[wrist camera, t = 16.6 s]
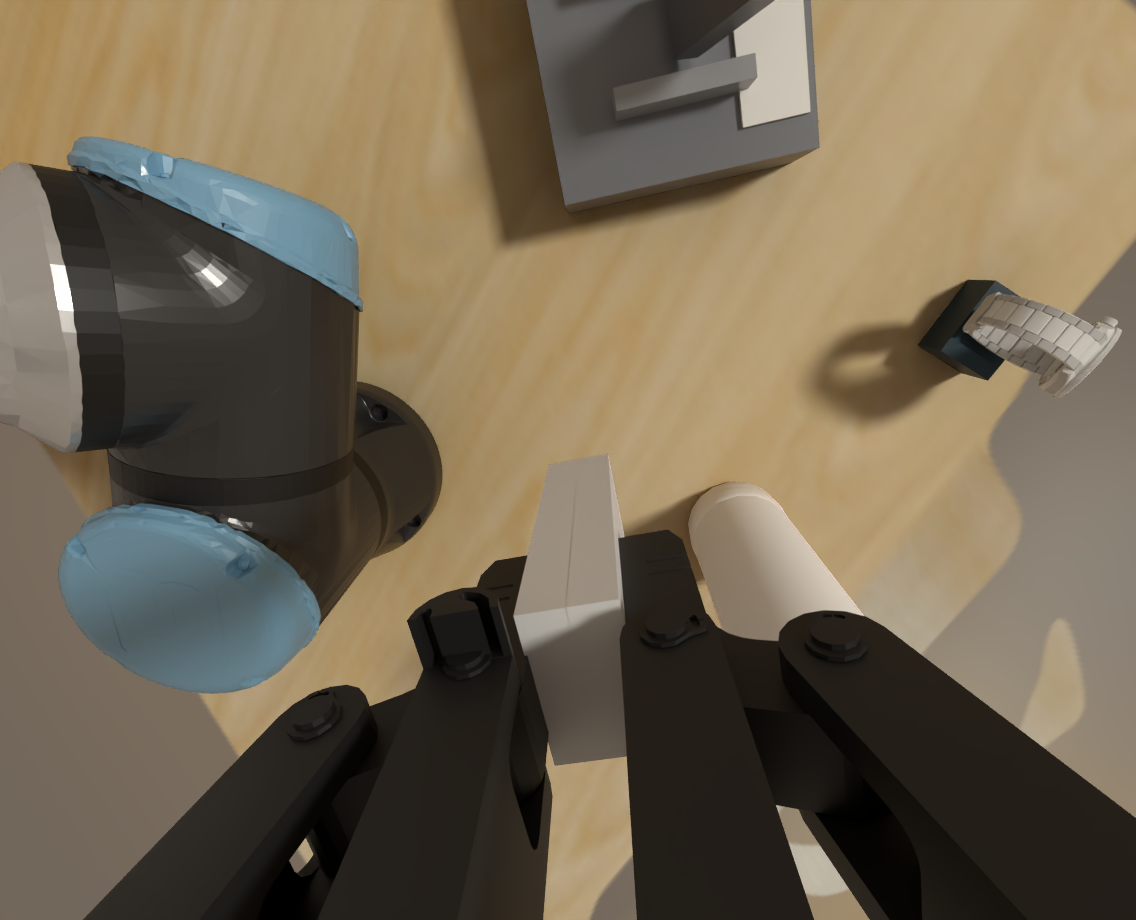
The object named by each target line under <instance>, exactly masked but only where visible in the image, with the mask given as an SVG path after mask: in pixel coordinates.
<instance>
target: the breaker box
mask: <svg viewBox="0 0 1136 920" xmlns="http://www.w3.org/2000/svg"><path fill="white" fill-rule="evenodd" d="M526 1H527V7H528V12H529V17H530V23H531V28H532V33H533V39H534V44H535V49H536V54H537V60H538V65H539V70H540V76H541V81H542V86H543V92H544V97H545V102H546V107H547V113H548V118H549V123H550V129H551V134H552V139H553V145H554V150H555V155H556V161H557V166H558V171H559V176H560V182H561V187H562V192H563V198H564V203H565V206H566V209H567V211H568V213H573V212H577V211H582V210H586V209H590V208H595V207H599V206H604V205H608V204H613V203H617V202H621V201H626V200H630V199H635V198H639V197H644V196H648V195H652V194H657V193H661V192H666V191H670V190H675V189H679V188H683V187H688V186H692V185H697V184H701V183H706V182H710V181H715V180H719V179H723V178H728V177H732V176H737V175H741V174H746V173H750V172H754V171H759V170H763V169H768V168H772V167H777V166H781V165H785V164H790V163H792V162H794V161H795V160H797V159H799V158H801V157H803V156H805V155H806V154H808V153H810V152H812V151H814V150H816V149H817V148H819V131H818V115H817V98H816V82H815V65H814V49H813V33H812V16H811V0H775V1H773V2H772V3H771V4H769V5H768V6H767V7H765V8H764V9H763V10H761V11H760V12H759V13H757V14H756V15H755V16H753V17H752V18H750V19H749V20H748V21H746V22H745V23H744V24H742V25H741V26H740V27H738V28H737V29H736V30H734V31H733V32H732V33H730V34H729V35H728V36H726V37H725V38H724V39H722V40H721V41H720V42H718V43H717V44H716V45H714V46H713V47H712V48H710V49H709V50H708V51H706V52H705V53H704V54H702V55H701V56H700V57H698V58H692V59H682V60H674V57H673V49H672V41H671V33H670V25H669V17H668V9H667V1H666V0H526Z"/></svg>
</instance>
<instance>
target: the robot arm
mask: <svg viewBox="0 0 1136 920" xmlns="http://www.w3.org/2000/svg"><path fill="white" fill-rule="evenodd" d="M67 161H68V165H70V166H71V169H72V170H74V171H67V170H61V169H56V168H50V167H44V166H38V165H33V164H27V163H21V162H13V163H11V164H10V165H8V166H7V167H5V168H4V169H2V170H1V171H0V423H4V424H7V425H11V426H15V427H17V428H19V429H20V430H22V431H24V432H26V433H28V434H29V435H31V436H33V437H35V438H36V439H38V440H40V441H42V442H44V443H45V444H47V445H49V446H51V447H52V448H54V449H56V450H58V451H60V452H82V451H92V450H101V449H107V454H108V463H109V472H110V483H111V491H112V507H110V508H107V509H105V510H103V511H100V512H98V513H96V514H94V515H92V516H91V517H90V518H88V519H87V520H86V521H85V522H84V523H83V525H82V527H81V529H80V531H79V533H77V534H76V535H75V536H74V537H72V538H71V539H70V540H69V541H68V542H67V544H66V545H65V548H64V550H63V552H62V554H61V557H60V562H59V569H58V579H59V587H60V591H61V594H62V597H63V600H64V602H65V605H66V607H67V609H68V611H69V613H70V615H71V617H72V618H73V620H74V621H75V623H76V624H77V626H78V627H79V628H80V629H81V631H82V632H83V633H84V635H85V636H86V637H87V638H88V639H89V640H90V641H91V642H92V643H93V644H94V645H95V646H96V647H97V648H99V649H100V651H102V652H103V653H104V654H105V655H108V656H110V657H111V658H113V659H114V660H116V661H117V662H118V663H120V664H121V665H122V666H123V667H124V668H126V669H127V670H129V671H131V672H133V673H134V674H137V675H138V676H140V677H143V678H145V679H147V680H149V681H152V682H155V683H157V684H160V685H163V686H166V687H170V688H173V689H178V690H182V691H188V692H195V693H211V694H213V693H228V692H234V691H240V690H243V689H247V688H250V687H253V686H256V685H258V684H260V683H261V682H262V681H265V680H267V679H269V678H270V677H271V676H273V675H275V674H276V673H278V672H279V671H280V670H281V669H282V668H283V667H284V666H285V665H286V664H287V663H288V662H289V661H290V660H291V659H292V658H293V657H294V656H295V655H296V654H297V653H298V652H299V651H300V650H301V649H303V648H304V647H306V646H307V645H308V644H309V643H310V642H311V641H312V639H313V638H314V637H315V635H316V632H317V631H318V630H319V626H320V625H321V623H322V622H323V621H324V619H325V618H326V617H327V616H328V614H329V613H330V612H331V610H332V609H333V608H334V606H335V605H336V604H337V602H338V601H339V600H340V598H341V597H342V596H343V595H344V593H345V592H346V591H347V589H348V588H349V587H350V585H351V584H352V583H353V581H354V580H355V579H356V578H357V576H358V575H359V574H360V572H361V571H362V570H363V568H364V567H365V566H366V564H367V563H368V562H369V561H370V560H371V559H373V558H375V557H378V556H380V555H383V554H385V553H387V552H390V551H392V550H394V549H396V548H398V547H400V546H401V545H403V544H404V543H406V542H407V541H408V540H410V539H411V538H412V537H413V536H414V535H415V534H416V533H417V532H418V531H419V530H420V529H421V527H422V526H423V525H424V523H425V522H426V521H427V519H428V518H429V516H430V515H431V513H432V511H433V510H434V508H435V506H436V503H437V501H438V498H439V495H440V491H441V485H442V464H441V458H440V454H439V451H438V448H437V445H436V442H435V440H434V438H433V436H432V434H431V432H430V430H429V429H428V427H427V426H426V424H425V423H424V421H423V420H422V419H421V418H420V416H419V415H418V414H417V413H416V412H415V411H414V410H413V409H412V408H411V407H410V406H409V405H407V404H406V403H405V402H404V401H402V400H401V399H400V398H398V397H397V396H395V395H393V394H392V393H390V392H388V391H386V390H384V389H382V388H379V387H377V386H374V385H371V384H367V383H363V382H357V363H358V334H359V312H362V311H363V302H362V300H361V298H360V297H359V265H358V245H357V240H356V238H355V235H354V233H353V231H352V229H351V228H350V226H349V225H348V224H347V223H346V222H345V220H344V219H342V218H341V217H340V216H339V215H338V214H336V213H335V212H333V211H332V210H330V209H328V208H326V207H324V206H322V205H320V204H318V203H316V202H314V201H311V200H309V199H307V198H304V197H301V196H299V195H296V194H293V193H291V192H288V191H285V190H283V189H280V188H277V187H274V186H271V185H268V184H265V183H262V182H259V181H257V180H254V179H251V178H248V177H245V176H241V175H238V174H235V173H232V172H229V171H226V170H222V169H219V168H216V167H213V166H209V165H206V164H202V163H199V162H195V161H191V160H188V159H184V158H173V157H171V156H169V155H167V154H163V153H159V152H155V151H151V150H148V149H145V148H142V147H140V146H137V145H133V144H129V143H125V142H120V141H115V140H111V139H106V138H100V137H82V138H80V139H78V140H76V141H75V142H74V145H73V149H72V151H71V152H70V153H69V154H68V155H67ZM407 622H408V625H409V628H410V631H411V634H412V637H413V640H414V643H415V646H416V649H417V651H418V654H419V657H420V660H421V663H422V666H423V669H424V670H423V672H422V674H421V677H420V679H419V681H418V684H417V686H416V688H415V689H413V690H411V691H409V692H407V693H404V694H402V695H399V696H397V697H394V698H391V699H388V700H386V701H383V702H380V703H378V704H375V705H372V706H369V704H368V701H367V698H366V696H365V694H364V693H363V692H362V691H361V690H360V689H359V688H357V687H353V686H349V685H342V686H334V687H329V688H325V689H322V690H321V691H316V692H314V693H311V694H309V695H308V696H307V697H305V698H304V699H302V700H300V701H298V702H297V703H295V704H293V705H292V706H291V707H290V708H289V709H288V710H286V711H285V712H284V713H283V714H282V715H280V716H279V717H278V718H277V719H276V720H275V721H274V722H273V723H272V724H271V725H270V726H269V727H268V729H267V730H266V731H265V732H264V733H263V734H262V735H261V736H260V737H259V738H258V739H257V740H256V741H255V742H254V743H253V744H252V745H251V746H250V747H249V748H248V749H247V750H246V751H245V752H244V753H243V754H242V755H241V756H240V758H239V759H238V760H237V761H236V762H235V763H234V764H233V765H232V766H231V767H230V768H229V769H228V770H227V771H226V772H225V773H224V774H223V775H222V776H221V777H220V778H219V779H218V780H217V781H216V782H215V783H214V785H213V786H212V787H211V788H210V789H209V790H208V791H207V792H206V793H205V794H204V795H203V796H202V797H201V798H200V799H199V800H198V801H197V802H196V803H195V804H194V805H193V806H192V807H191V808H190V810H188V811H187V813H185V815H184V816H183V817H182V818H181V819H180V820H179V821H178V822H177V823H176V824H175V825H174V826H173V827H172V828H171V829H170V830H169V831H168V832H167V833H166V834H165V835H164V836H163V837H162V838H161V839H160V840H159V841H158V843H157V844H156V845H155V846H154V847H153V848H152V849H151V850H150V851H149V852H148V853H147V854H146V855H145V856H144V857H143V858H142V859H141V860H140V861H139V862H138V863H137V865H135V866H134V868H132V869H131V871H130V872H129V873H128V874H127V875H126V876H125V877H124V878H123V879H122V880H121V881H120V882H119V883H118V884H117V885H116V886H115V887H114V888H113V889H112V890H111V891H110V892H109V893H108V894H107V895H106V896H105V897H104V899H103V900H102V901H101V902H100V903H99V904H98V905H97V906H96V907H95V908H94V909H93V910H92V911H91V912H90V913H89V914H88V915H87V916H86V917H85V918H84V919H83V920H543V913H544V900H545V887H546V874H547V861H548V848H549V835H550V822H551V809H552V790H551V783H550V780H549V776H548V773H547V769H546V766H545V764H546V754H547V744H548V743H549V746H550V750H551V754H552V757H553V761H554V764H555V765H563V764H571V763H579V762H586V761H594V760H602V759H610V758H618V757H625V756H627V767H628V783H629V799H630V815H631V831H632V847H633V861H634V862H633V863H634V879H635V895H636V910H637V920H814V918H813V915H812V912H811V909H810V906H809V903H808V900H807V897H806V894H805V891H804V888H803V885H802V882H801V879H800V876H799V873H798V870H797V867H796V864H795V861H794V858H793V855H792V852H791V849H790V846H789V843H788V840H787V837H786V834H785V831H784V828H783V825H782V822H781V819H780V816H779V813H778V810H777V807H776V805H779V806H785V807H790V808H796V809H799V811H800V813H801V816H802V818H803V820H804V822H805V823H806V825H807V826H808V828H809V829H810V831H811V832H812V834H813V835H814V837H815V838H816V840H817V841H818V843H819V844H820V846H821V847H822V849H823V850H824V852H825V853H826V855H827V856H828V858H829V859H830V861H831V862H832V864H833V865H834V867H835V868H836V870H837V871H838V873H839V874H840V876H841V877H842V879H843V880H844V882H845V883H846V885H847V886H848V888H849V889H850V891H851V892H852V894H853V895H854V897H855V898H856V900H857V901H858V903H859V904H860V906H861V907H862V909H863V910H864V911H865V913H866V915H867V916H868V917H869V919H870V920H1136V818H1135V817H1134V816H1132V815H1131V814H1130V813H1128V812H1127V811H1126V810H1124V809H1123V808H1122V807H1121V806H1119V805H1118V804H1116V803H1115V802H1114V801H1113V800H1111V799H1110V798H1109V797H1107V796H1106V795H1105V794H1103V793H1102V792H1101V791H1100V790H1098V789H1097V788H1096V787H1094V786H1093V785H1092V784H1090V783H1089V782H1088V781H1086V780H1085V779H1083V778H1082V777H1081V776H1080V775H1078V774H1077V773H1076V772H1074V771H1073V770H1072V769H1071V768H1069V767H1068V766H1067V765H1065V764H1064V763H1062V762H1061V761H1060V760H1059V759H1057V758H1056V757H1055V756H1054V755H1052V754H1051V753H1050V752H1048V751H1047V750H1046V749H1044V748H1043V747H1042V746H1040V745H1039V744H1038V743H1036V742H1035V741H1034V740H1032V739H1031V738H1030V737H1029V736H1027V735H1026V734H1025V733H1023V732H1022V731H1021V730H1019V729H1018V728H1017V727H1015V726H1014V725H1013V724H1011V723H1010V722H1009V721H1008V720H1006V719H1005V718H1004V717H1002V716H1001V715H999V714H998V713H997V712H996V711H994V710H993V709H992V708H990V707H989V706H988V705H986V704H985V703H984V702H983V701H981V700H980V699H979V698H977V697H976V696H975V695H973V694H972V693H971V692H969V691H968V690H967V689H965V688H964V687H963V686H962V685H960V684H959V683H958V682H956V681H955V680H954V679H952V678H951V677H950V676H948V675H947V674H946V673H944V672H943V671H942V670H940V669H939V668H938V667H936V666H935V665H934V664H932V663H931V662H930V661H928V660H927V659H926V658H924V657H923V656H922V655H921V654H919V653H918V652H917V651H916V650H914V649H913V648H912V647H910V646H909V645H908V644H906V643H905V642H904V641H902V640H901V639H900V638H898V637H897V636H896V635H894V634H893V633H892V632H891V631H889V630H888V629H887V628H885V627H884V626H882V625H880V624H879V623H877V622H875V621H873V620H871V619H869V618H868V617H865V616H862V615H858V614H854V613H850V612H846V611H831V610H822V611H816V612H810V613H804V614H802V615H800V616H798V617H796V618H794V619H792V620H790V621H788V622H787V623H786V625H785V626H784V627H783V628H782V629H781V630H780V632H779V640H778V641H770V640H756V639H749V638H742V637H739V636H736V635H733V634H730V633H727V632H725V631H724V630H722V629H720V628H718V627H717V626H716V625H715V623H714V622H713V621H712V619H711V618H710V616H709V615H708V614H706V612H705V608H704V605H703V602H702V599H701V596H700V593H699V590H698V587H697V584H696V581H695V578H694V575H693V571H692V568H691V565H690V562H689V559H688V556H687V553H686V550H685V547H684V544H683V541H682V539H680V538H679V537H678V536H676V535H675V534H673V533H672V532H670V531H669V530H663V531H657V532H651V533H645V534H640V535H634V536H628V537H624V531H623V526H622V521H621V516H620V511H619V506H618V501H617V496H616V491H615V486H614V481H613V476H612V471H611V466H610V461H609V456H608V454H603V455H598V456H592V457H587V458H582V459H576V460H571V461H565V462H560V463H555V464H549V466H548V471H547V475H546V479H545V483H544V488H543V492H542V496H541V500H540V505H539V509H538V513H537V517H536V522H535V526H534V530H533V534H532V539H531V543H530V547H529V552H528V555H527V556H521V557H515V558H509V559H503V560H498V561H495V562H494V563H493V564H492V565H491V566H490V567H489V568H488V569H487V570H486V571H485V572H484V573H483V574H482V575H481V577H480V580H479V582H478V585H477V587H473V588H461V589H457V590H454V591H450V592H446V593H444V594H441V595H439V596H437V597H435V598H433V599H431V600H429V601H427V602H426V603H425V604H423V605H422V606H420V607H419V608H418V609H416V610H415V611H414V613H413V614H412V615H411V616H410V618H409V619H408V620H407ZM305 838H306V839H307V841H308V843H309V845H310V848H311V850H312V852H313V854H314V855H313V856H312V858H311V859H310V861H309V862H308V863H307V864H306V865H305V866H304V867H303V868H302V869H301V870H300V871H299V872H298V873H296V872H294V870H293V868H292V866H291V864H290V862H289V860H290V858H291V857H292V856H293V854H294V853H295V851H296V850H297V849H298V847H299V846H300V845H301V843H302V842H303V840H304V839H305Z"/></svg>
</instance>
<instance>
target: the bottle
mask: <svg viewBox="0 0 1136 920" xmlns="http://www.w3.org/2000/svg"><path fill="white" fill-rule="evenodd" d="M688 527H689V534H690V539H691V545H692V549H693V551H694V553H695V555H696V557H697V559H698V562H699V564H700V567H701V570H702V573H703V576H704V579H705V581H706V584H707V587H708V590H709V593H710V596H711V598H712V601H713V604H714V607H715V610H716V613H717V615H718V618H719V621H720V624H721V627H722V630H724V631H725V632H727V633H730V634H733V635H736V636H739V637H742V638H749V639H756V640H770V641H778V640H779V632H780V630H781V629H782V628H783V627H784V626H785V625H786V623H787V622H788V621H790V620H792V619H794V618H796V617H798V616H800V615H802V614H804V613H810V612H816V611H822V610H831V611H846V612H850V613H854V614H858V615H862V616H864V615H863V614H862V612H861V611H860V610H859V609H858V607H857V606H856V605H855V603H854V602H853V601H852V600H851V598H850V597H849V596H848V594H847V593H846V592H845V591H844V589H843V588H842V587H841V585H840V584H839V583H838V582H837V580H836V579H835V578H834V576H833V575H832V574H831V573H830V571H829V570H828V569H827V567H826V566H825V565H824V563H823V562H822V561H821V560H820V558H819V557H818V556H817V554H816V553H815V552H814V551H813V549H812V548H811V547H810V545H809V544H808V543H807V542H806V540H805V539H804V538H803V536H802V535H801V534H800V533H799V531H798V530H797V529H796V527H795V526H794V525H793V524H792V522H791V521H790V520H789V518H788V517H787V516H786V514H785V512H784V510H783V509H782V507H781V506H780V505H779V504H778V503H777V502H776V501H775V500H774V499H773V498H772V497H771V496H770V495H769V494H768V493H767V492H765V491H764V490H763V489H762V488H761V487H758V486H756V485H753V484H750V483H747V482H727V483H724V484H721V485H718V486H715V487H713V488H711V489H710V490H709V491H707V492H706V493H704V494H703V495H702V496H700V498H699V499H698V501H697V502H696V504H695V505H694V506H693V508H692V510H691V514H690V517H689V521H688Z"/></svg>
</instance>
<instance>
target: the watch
mask: <svg viewBox="0 0 1136 920" xmlns="http://www.w3.org/2000/svg"><path fill="white" fill-rule="evenodd" d="M1044 308H1045V309H1044ZM1063 312H1064V311H1063V310H1060V309H1058V308H1055V307H1052V306H1050V305H1046V304H1043V303H1040V302H1037V301H1033V300H1029V299H1026V298H1022V297H1020V296H1018V295H1017V294H1015V293H1014V292H1012V291H1011V290H1009V289H1008V288H1006V287H1005V286H1003V285H1002V284H1000V283H999V282H997V281H992V280H967V282H966V283H965V284H964V286H963V287H962V288H961V289H960V291H959V292H958V293H957V295H956V296H955V297H954V299H953V300H952V301H951V302H950V304H949V305H948V306H947V308H946V309H945V310H944V312H943V313H942V314H941V315H940V317H939V318H938V319H937V321H936V322H935V323H934V325H933V326H932V327H931V328H930V330H929V331H928V332H927V334H926V335H925V336H924V338H923V339H922V340H921V341H920V343H919V344H918V346H920V347H921V348H923V349H925V350H926V351H928V352H929V353H931V354H932V355H934V356H936V357H937V358H939V359H940V360H942V361H943V362H945V363H947V364H948V365H950V366H951V367H953V368H955V369H956V370H958V371H959V372H961V373H963V374H967V375H970V376H974V377H977V378H981V379H984V380H989V378H990V377H991V376H992V375H993V374H994V372H995V371H996V370H997V369H998V368H999V366H1000V365H1001V364H1002V363H1003V362H1004V360H1007V361H1009V362H1011V363H1013V364H1015V365H1017V366H1018V367H1022V368H1023V369H1025V370H1027V371H1030V372H1032V373H1034V374H1037V375H1039V376H1040V378H1039V379H1038V381H1039V387H1040V388H1041V389H1042V390H1044V391H1046V392H1048V393H1050V394H1053V397H1056V398H1060V397H1062V396H1064V395H1065V394H1067V393H1068V392H1070V391H1071V390H1072V389H1073V388H1075V387H1076V386H1077V385H1078V384H1079V383H1080V382H1081V381H1082V380H1083V379H1084V378H1086V377H1087V376H1088V375H1089V374H1090V373H1091V372H1092V370H1093V369H1094V368H1095V367H1096V366H1097V365H1098V364H1099V363H1101V362H1102V360H1103V358H1104V357H1105V356H1106V355H1107V354H1108V352H1109V351H1110V350H1111V349H1112V347H1113V346H1114V345H1115V343H1116V342H1117V340H1118V339H1119V337H1120V335H1121V332H1122V330H1121V329H1119V328H1114V327H1115V326H1116V324H1117V323H1118V321H1117V320H1115V319H1113V318H1111V317H1106V316H1105V317H1104V318H1103V319H1102V320H1101V321H1100V322H1095V323H1093V324H1091V325H1090V324H1089V323H1087V322H1085V321H1083V320H1080V319H1079V318H1078V317H1076V316H1074V315H1071V314H1069V313H1067V312H1064V313H1063ZM1062 313H1063V314H1062ZM1052 317H1053V318H1052ZM1059 317H1060V318H1059ZM1051 318H1052V319H1051ZM1050 319H1051V320H1050ZM1049 320H1050V321H1049ZM1047 323H1048V324H1047ZM1046 324H1047V325H1046ZM1045 325H1046V326H1045ZM1044 326H1045V327H1044ZM1042 329H1043V330H1042ZM1041 330H1042V331H1041ZM1040 331H1041V332H1040ZM1039 332H1040V333H1039ZM1032 346H1033V347H1032ZM1031 347H1032V348H1031ZM1030 348H1031V349H1030ZM1029 349H1030V350H1029ZM1027 352H1028V353H1027ZM1026 353H1027V354H1026ZM1025 354H1026V355H1025ZM1012 355H1013V356H1012ZM1024 355H1025V356H1024ZM1011 356H1012V357H1011ZM1010 357H1011V358H1010ZM1009 358H1010V359H1009ZM1022 358H1023V359H1022ZM1025 362H1026V363H1025ZM1024 363H1025V364H1024Z"/></svg>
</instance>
